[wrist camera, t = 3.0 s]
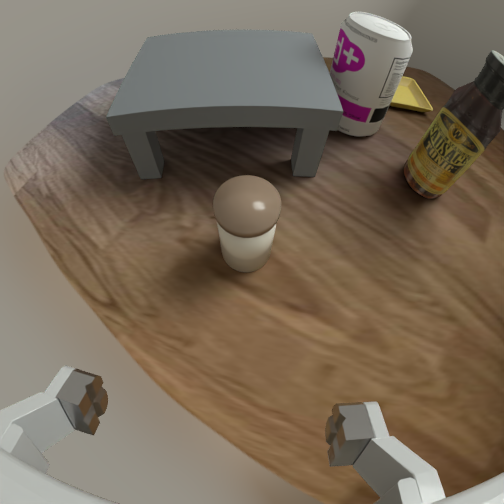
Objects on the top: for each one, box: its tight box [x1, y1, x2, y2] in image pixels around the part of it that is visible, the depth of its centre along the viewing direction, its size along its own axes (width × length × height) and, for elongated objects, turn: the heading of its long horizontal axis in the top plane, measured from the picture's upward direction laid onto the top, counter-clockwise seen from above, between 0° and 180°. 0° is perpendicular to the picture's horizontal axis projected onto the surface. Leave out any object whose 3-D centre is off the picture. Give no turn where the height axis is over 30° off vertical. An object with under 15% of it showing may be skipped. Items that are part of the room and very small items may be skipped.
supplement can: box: [330, 12, 413, 137], centre depth 29 cm, size 8×8×15 cm
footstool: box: [106, 30, 343, 179], centre depth 29 cm, size 20×16×10 cm
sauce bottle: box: [404, 51, 504, 199], centre depth 23 cm, size 6×6×20 cm
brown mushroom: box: [213, 175, 281, 272], centre depth 24 cm, size 5×5×8 cm
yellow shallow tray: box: [390, 76, 433, 112], centre depth 39 cm, size 9×9×2 cm
